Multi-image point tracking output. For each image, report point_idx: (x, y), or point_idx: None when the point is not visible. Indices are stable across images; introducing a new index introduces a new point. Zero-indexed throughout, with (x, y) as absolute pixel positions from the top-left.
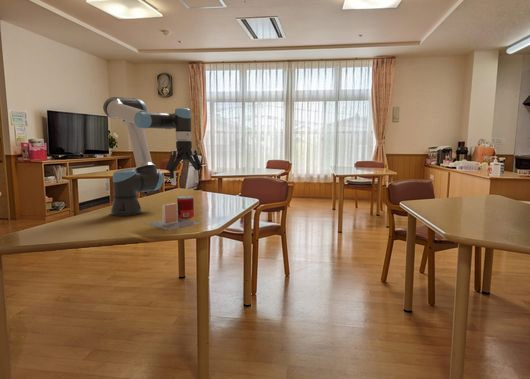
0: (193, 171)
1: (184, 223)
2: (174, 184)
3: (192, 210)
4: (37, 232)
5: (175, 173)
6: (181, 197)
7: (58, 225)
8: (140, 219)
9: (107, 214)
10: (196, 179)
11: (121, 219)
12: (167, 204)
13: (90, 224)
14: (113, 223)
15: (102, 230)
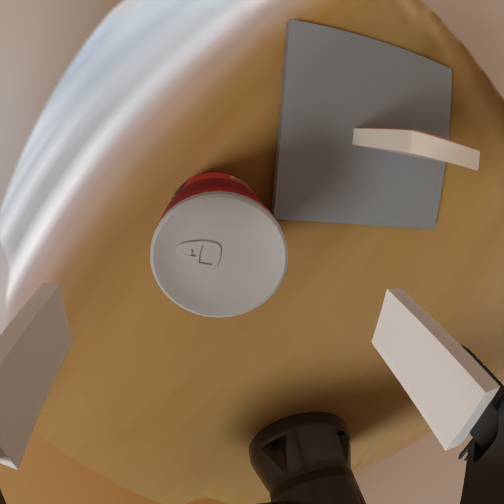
0: (25, 448)
1: (349, 83)
2: (405, 297)
3: (199, 179)
4: None
5: (472, 375)
6: (236, 286)
7: None
8: (349, 345)
9: None
10: (44, 319)
11: (376, 381)
12: (460, 153)
13: None
14: None
15: (490, 283)
